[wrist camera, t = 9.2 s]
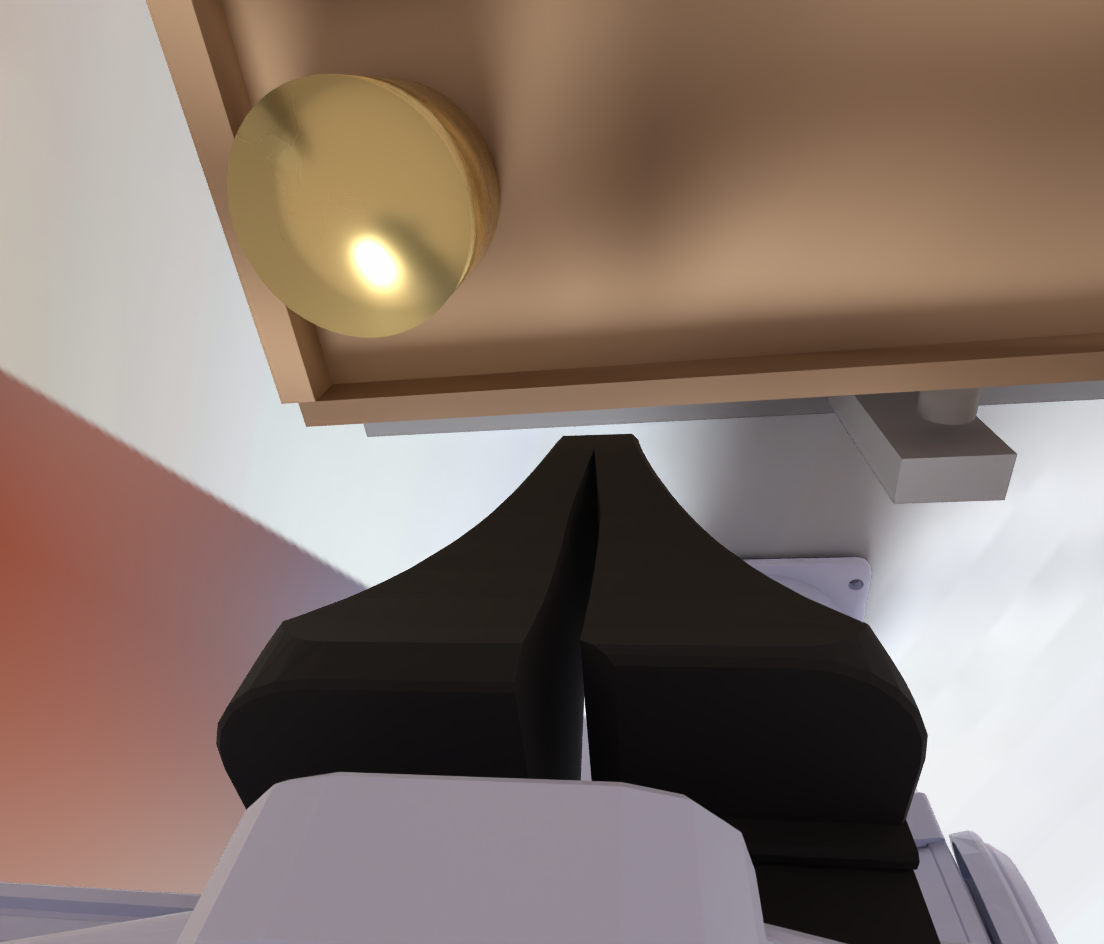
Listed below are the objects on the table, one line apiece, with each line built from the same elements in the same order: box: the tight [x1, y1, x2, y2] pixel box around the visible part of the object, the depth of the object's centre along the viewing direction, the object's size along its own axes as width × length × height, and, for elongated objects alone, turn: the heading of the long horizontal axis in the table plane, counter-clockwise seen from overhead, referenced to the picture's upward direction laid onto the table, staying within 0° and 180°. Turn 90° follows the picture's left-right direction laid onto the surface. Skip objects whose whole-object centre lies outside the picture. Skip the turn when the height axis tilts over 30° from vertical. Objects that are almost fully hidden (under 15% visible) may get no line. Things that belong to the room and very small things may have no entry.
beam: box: [146, 0, 1104, 427], centre depth 12 cm, size 12×30×2 cm, turn 97°
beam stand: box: [364, 380, 1104, 504], centre depth 14 cm, size 16×33×6 cm, turn 97°
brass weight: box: [227, 74, 500, 338], centre depth 12 cm, size 4×4×3 cm
